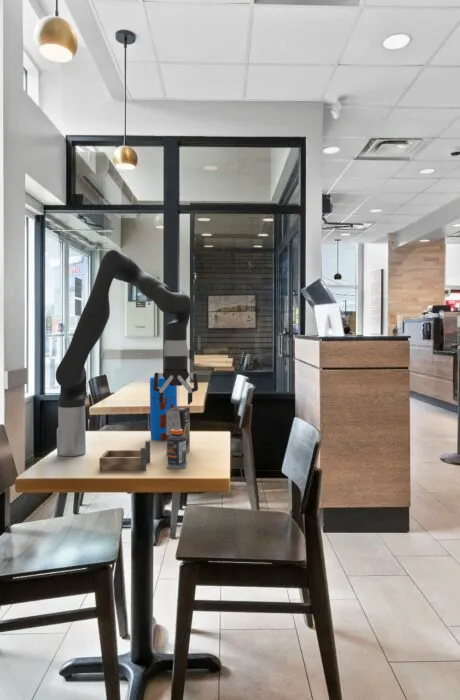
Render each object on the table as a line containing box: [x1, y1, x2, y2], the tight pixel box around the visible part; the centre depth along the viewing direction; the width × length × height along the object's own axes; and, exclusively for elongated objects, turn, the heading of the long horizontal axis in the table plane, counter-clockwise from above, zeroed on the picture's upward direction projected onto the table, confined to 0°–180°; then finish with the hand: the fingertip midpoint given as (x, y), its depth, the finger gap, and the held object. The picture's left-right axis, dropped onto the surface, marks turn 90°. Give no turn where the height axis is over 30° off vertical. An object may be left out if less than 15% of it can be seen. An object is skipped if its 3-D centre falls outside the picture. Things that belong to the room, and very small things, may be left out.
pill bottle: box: [167, 429, 187, 466], centre depth 172 cm, size 6×6×11 cm
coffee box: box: [165, 406, 191, 456], centre depth 189 cm, size 9×6×16 cm
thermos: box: [149, 376, 178, 442], centre depth 215 cm, size 11×11×25 cm
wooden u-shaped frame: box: [98, 440, 151, 472], centre depth 171 cm, size 14×11×7 cm
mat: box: [166, 460, 188, 469], centre depth 172 cm, size 6×7×1 cm
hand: (176, 404), depth 171 cm, fingers open, 8 cm apart
